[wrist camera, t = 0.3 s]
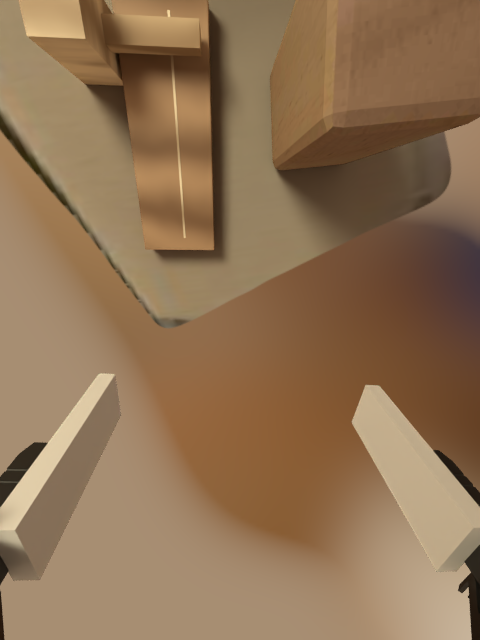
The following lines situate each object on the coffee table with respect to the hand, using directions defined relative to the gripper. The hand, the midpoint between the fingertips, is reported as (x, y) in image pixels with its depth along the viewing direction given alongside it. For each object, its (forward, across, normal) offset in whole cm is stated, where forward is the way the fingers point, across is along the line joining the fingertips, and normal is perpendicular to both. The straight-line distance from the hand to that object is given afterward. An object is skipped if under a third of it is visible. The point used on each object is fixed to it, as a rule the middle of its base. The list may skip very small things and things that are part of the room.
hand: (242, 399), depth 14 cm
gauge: (+27, -12, +23) cm, 37 cm away
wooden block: (+27, +8, +19) cm, 34 cm away
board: (+27, -8, +15) cm, 32 cm away
